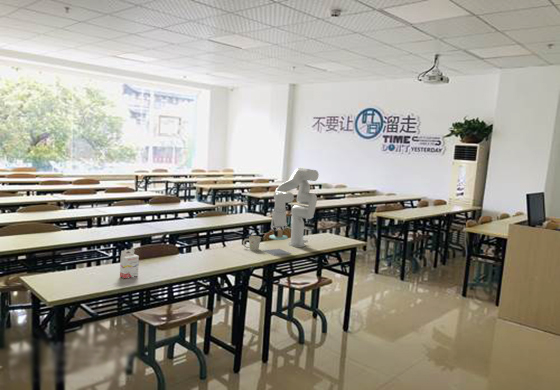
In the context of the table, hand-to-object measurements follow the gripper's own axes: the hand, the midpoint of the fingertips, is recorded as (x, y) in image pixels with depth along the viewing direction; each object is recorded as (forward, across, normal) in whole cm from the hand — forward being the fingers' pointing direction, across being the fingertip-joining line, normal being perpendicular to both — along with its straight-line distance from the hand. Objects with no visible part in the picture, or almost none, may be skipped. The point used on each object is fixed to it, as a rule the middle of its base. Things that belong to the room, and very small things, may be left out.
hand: (278, 235), depth 318 cm
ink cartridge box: (+9, +109, +14) cm, 110 cm away
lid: (+2, 0, 0) cm, 2 cm away
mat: (+13, +1, +1) cm, 13 cm away
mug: (+13, +14, -13) cm, 23 cm away
